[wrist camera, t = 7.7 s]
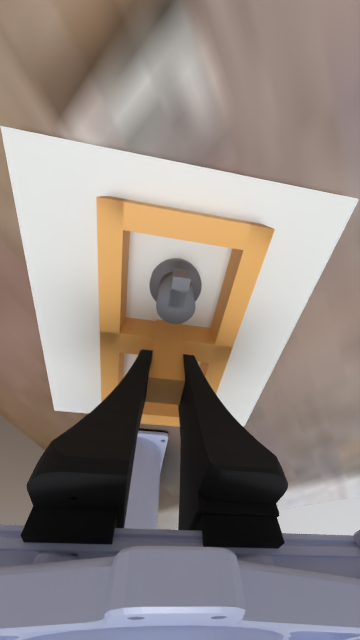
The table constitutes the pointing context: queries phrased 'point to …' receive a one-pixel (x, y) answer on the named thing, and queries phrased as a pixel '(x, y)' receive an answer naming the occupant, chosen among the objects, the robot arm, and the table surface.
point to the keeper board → (160, 258)
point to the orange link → (160, 335)
